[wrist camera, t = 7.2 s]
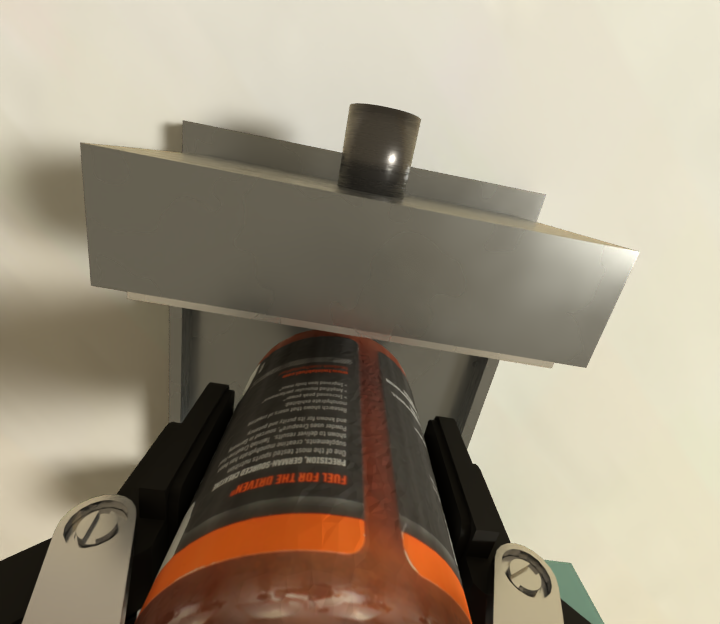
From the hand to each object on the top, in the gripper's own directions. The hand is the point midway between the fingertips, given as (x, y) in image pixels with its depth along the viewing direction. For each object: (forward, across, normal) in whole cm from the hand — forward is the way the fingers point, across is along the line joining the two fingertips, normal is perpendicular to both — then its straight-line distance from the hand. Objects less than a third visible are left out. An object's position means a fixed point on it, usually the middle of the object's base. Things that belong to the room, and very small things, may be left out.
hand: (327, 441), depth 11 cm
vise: (+7, 0, +3) cm, 8 cm away
